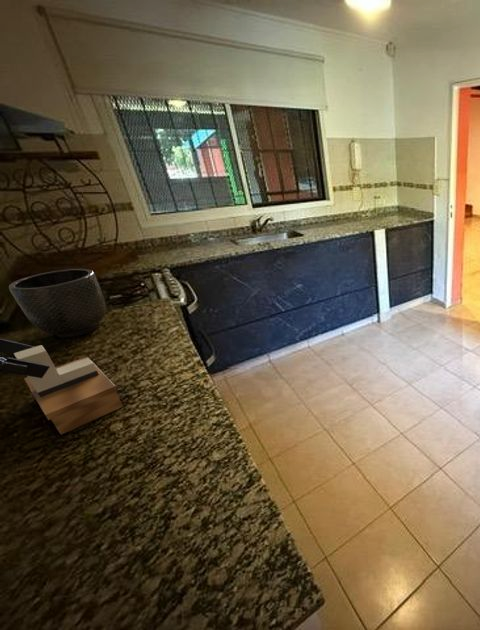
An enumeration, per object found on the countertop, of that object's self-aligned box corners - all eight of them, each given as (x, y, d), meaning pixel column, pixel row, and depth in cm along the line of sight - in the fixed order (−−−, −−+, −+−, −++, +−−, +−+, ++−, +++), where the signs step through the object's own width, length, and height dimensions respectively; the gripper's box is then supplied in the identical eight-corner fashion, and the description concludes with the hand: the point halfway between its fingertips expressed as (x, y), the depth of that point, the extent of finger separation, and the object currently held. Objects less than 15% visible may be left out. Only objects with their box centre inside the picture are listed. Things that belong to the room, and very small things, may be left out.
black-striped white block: (40, 397, 77) (17, 359, 72) (35, 389, 79) (13, 353, 75) (99, 374, 84) (81, 339, 80) (93, 368, 87) (75, 334, 82)
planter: (117, 313, 130) (96, 265, 122) (113, 333, 116) (89, 280, 107) (46, 327, 120) (18, 275, 112) (31, 351, 105) (-2, 294, 97)
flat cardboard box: (58, 436, 74) (45, 414, 72) (35, 397, 86) (23, 378, 83) (125, 405, 83) (115, 385, 80) (96, 374, 95) (87, 356, 92)
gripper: (-140, 328, 65) (15, 358, 82) (-145, 373, 52) (40, 398, 70) (-111, 293, 66) (35, 331, 84) (-109, 329, 54) (63, 364, 71)
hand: (38, 361), depth 77 cm, fingers open, 13 cm apart
